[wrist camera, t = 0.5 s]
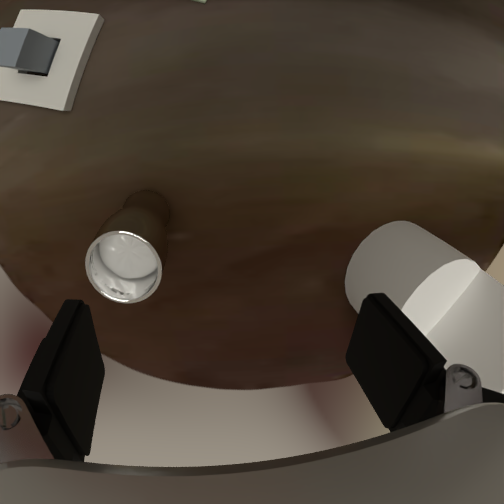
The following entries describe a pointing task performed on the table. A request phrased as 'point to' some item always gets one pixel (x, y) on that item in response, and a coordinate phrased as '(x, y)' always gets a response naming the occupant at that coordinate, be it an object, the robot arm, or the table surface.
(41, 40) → the slate plug
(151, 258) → the beer glass
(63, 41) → the white square hole board
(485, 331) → the grey stepped cylindrical piece
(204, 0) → the sage mat
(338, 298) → the table surface
